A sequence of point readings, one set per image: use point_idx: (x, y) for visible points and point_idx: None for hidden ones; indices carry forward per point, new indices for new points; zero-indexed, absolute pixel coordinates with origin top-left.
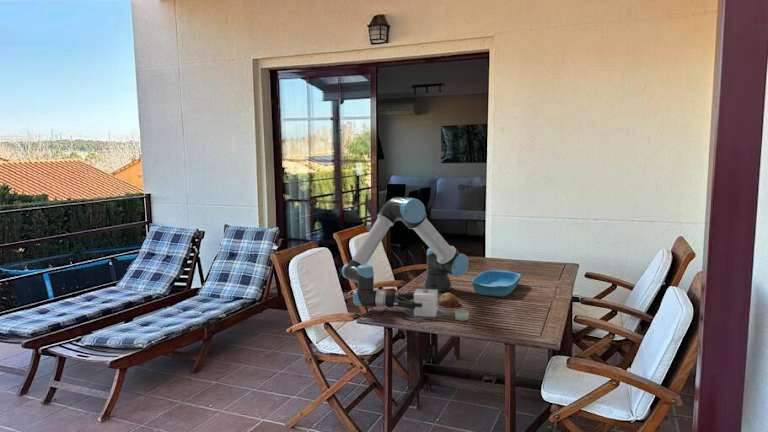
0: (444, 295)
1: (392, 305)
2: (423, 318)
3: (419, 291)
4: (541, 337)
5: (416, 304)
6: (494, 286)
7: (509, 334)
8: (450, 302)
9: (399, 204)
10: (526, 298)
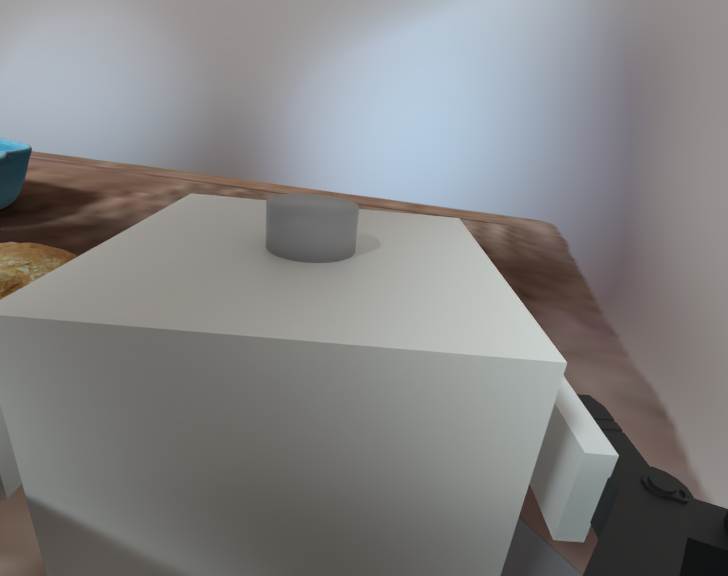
0: (11, 277)
1: None
2: (526, 534)
3: (272, 289)
4: (519, 225)
5: (636, 463)
6: (1, 156)
7: (539, 253)
8: None
9: None
10: (89, 188)
